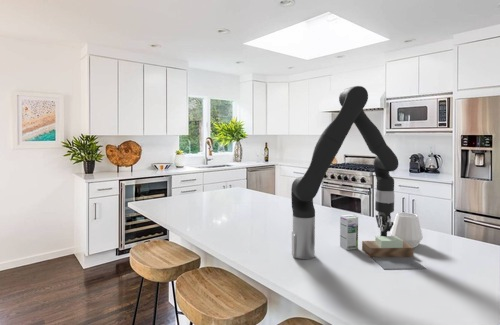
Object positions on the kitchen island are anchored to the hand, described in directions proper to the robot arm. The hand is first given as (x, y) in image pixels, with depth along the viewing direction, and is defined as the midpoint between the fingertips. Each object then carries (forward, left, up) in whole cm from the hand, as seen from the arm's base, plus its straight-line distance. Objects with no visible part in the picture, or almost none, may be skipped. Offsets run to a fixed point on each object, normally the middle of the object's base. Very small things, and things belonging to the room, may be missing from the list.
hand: (383, 239), depth 138 cm
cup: (+14, +8, -5) cm, 17 cm away
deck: (0, -4, -5) cm, 6 cm away
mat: (0, -14, -5) cm, 15 cm away
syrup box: (-14, +4, -5) cm, 15 cm away
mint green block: (0, -5, 0) cm, 5 cm away
